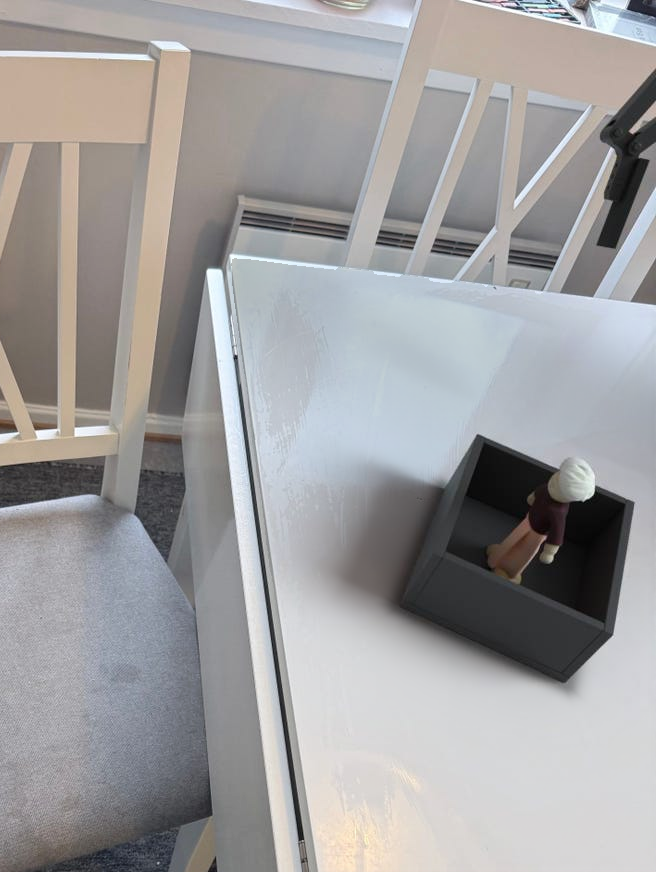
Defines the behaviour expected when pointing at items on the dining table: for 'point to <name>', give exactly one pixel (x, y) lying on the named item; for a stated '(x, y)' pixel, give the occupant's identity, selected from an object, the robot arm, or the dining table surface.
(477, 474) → the bin
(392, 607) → the dining table surface
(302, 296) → the dining table surface
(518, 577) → the grandmother figurine
